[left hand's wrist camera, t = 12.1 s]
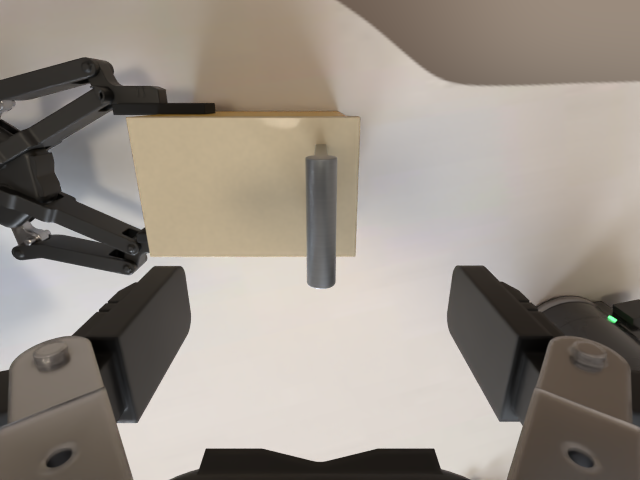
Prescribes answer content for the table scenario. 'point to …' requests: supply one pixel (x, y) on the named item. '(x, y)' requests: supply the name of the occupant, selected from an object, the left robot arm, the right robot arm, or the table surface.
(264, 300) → the table surface
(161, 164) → the lid
